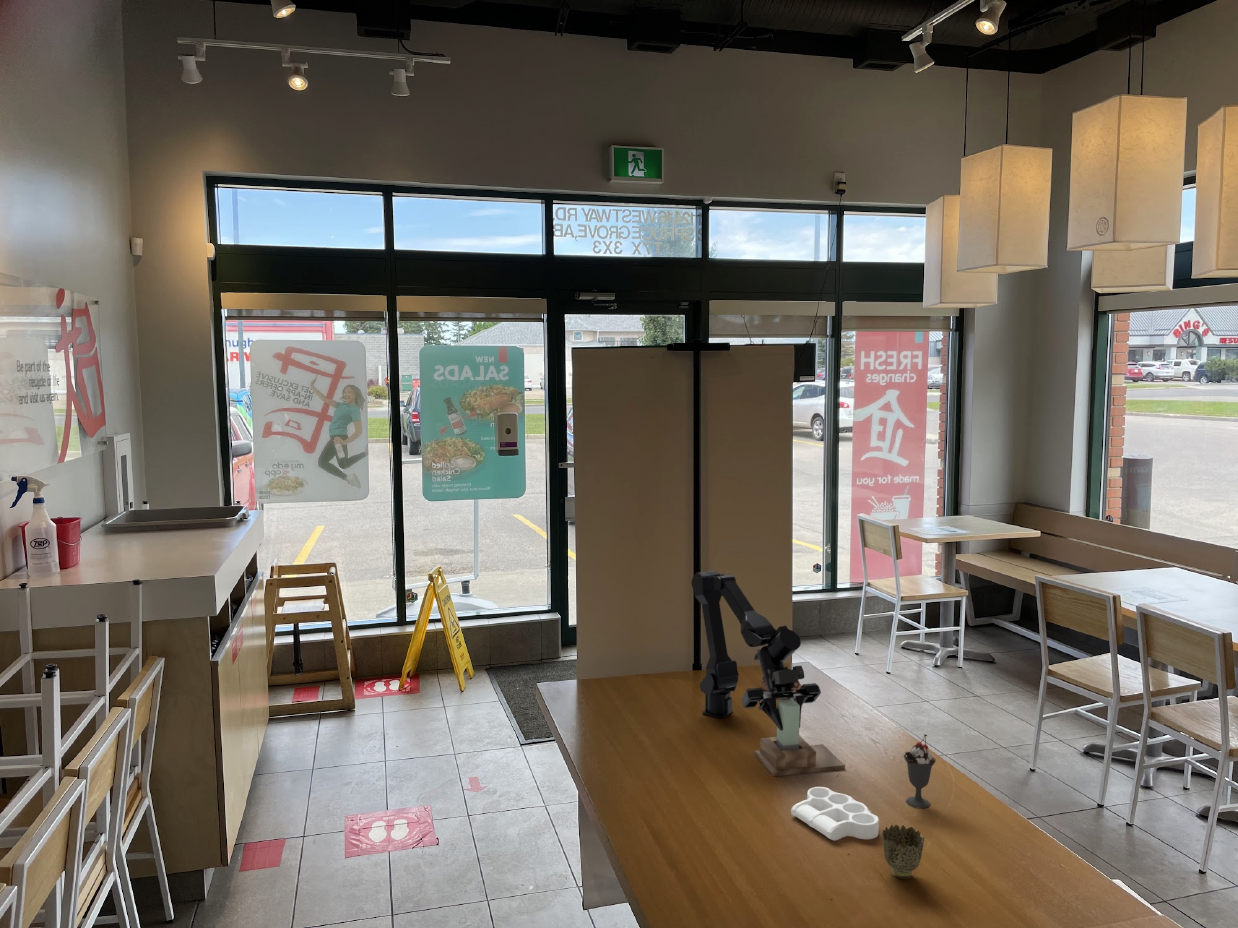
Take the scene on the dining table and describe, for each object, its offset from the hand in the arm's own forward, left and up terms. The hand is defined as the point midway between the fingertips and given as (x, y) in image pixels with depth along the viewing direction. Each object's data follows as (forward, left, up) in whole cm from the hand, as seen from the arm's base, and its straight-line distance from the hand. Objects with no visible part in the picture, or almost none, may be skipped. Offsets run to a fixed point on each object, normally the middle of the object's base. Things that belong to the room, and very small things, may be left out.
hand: (790, 728), depth 206 cm
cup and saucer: (-22, +45, -9) cm, 51 cm away
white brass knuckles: (+18, -19, -10) cm, 28 cm away
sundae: (+31, -2, -9) cm, 32 cm away
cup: (+36, -32, -9) cm, 48 cm away
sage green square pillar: (-1, +1, -7) cm, 7 cm away
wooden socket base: (+1, +3, -9) cm, 9 cm away
